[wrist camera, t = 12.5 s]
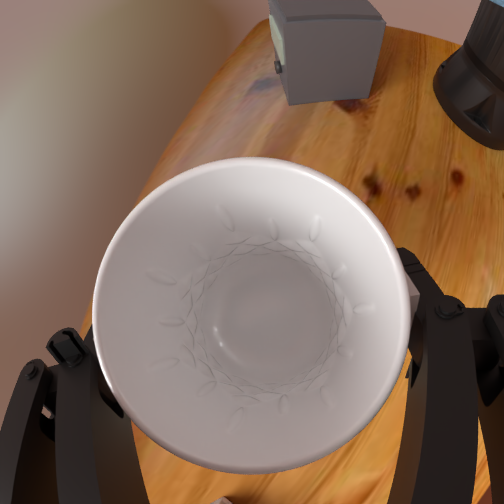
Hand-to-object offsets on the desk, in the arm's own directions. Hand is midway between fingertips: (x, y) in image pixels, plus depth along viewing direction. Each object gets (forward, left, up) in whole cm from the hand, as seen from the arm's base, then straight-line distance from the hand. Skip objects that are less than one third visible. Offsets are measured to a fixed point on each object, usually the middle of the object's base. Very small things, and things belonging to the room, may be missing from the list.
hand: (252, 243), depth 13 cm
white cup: (0, +3, -4) cm, 5 cm away
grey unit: (-10, -24, -14) cm, 30 cm away
